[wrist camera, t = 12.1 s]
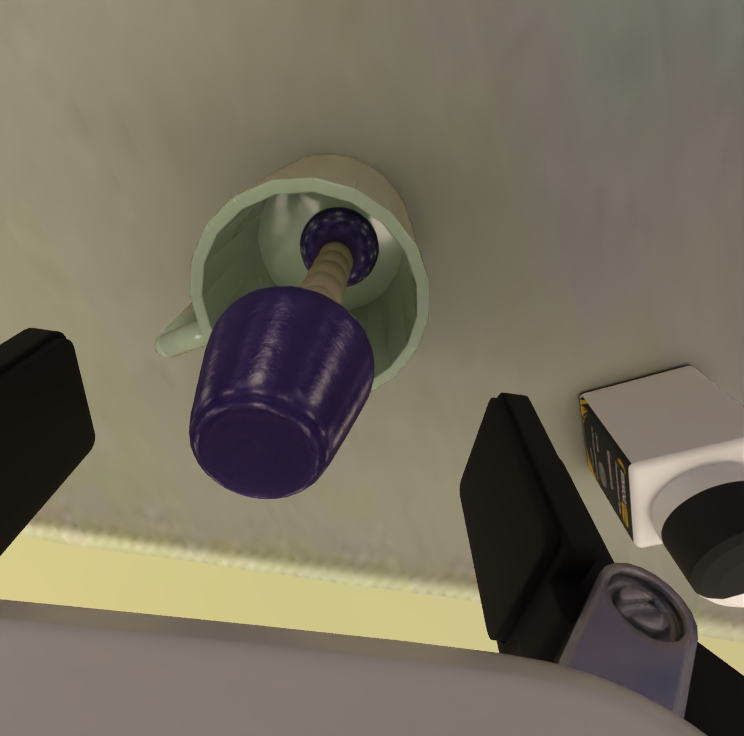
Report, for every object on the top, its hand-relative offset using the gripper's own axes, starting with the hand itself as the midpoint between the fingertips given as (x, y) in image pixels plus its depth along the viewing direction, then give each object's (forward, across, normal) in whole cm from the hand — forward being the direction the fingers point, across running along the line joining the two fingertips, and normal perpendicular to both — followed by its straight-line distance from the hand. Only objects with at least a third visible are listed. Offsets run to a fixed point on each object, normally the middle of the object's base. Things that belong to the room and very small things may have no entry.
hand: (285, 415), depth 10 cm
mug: (+16, +2, +1) cm, 16 cm away
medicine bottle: (+16, -22, +9) cm, 29 cm away
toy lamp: (+16, 0, 0) cm, 16 cm away
